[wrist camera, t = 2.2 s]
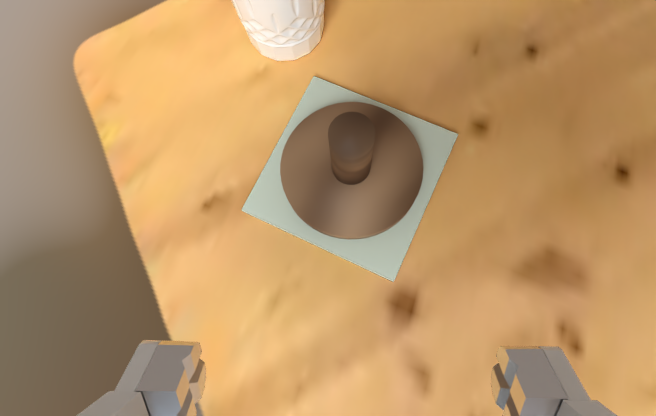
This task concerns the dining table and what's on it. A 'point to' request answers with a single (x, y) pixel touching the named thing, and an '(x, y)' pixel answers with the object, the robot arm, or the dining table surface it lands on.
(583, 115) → the dining table surface
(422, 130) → the mat
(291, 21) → the white cup
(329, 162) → the lid
